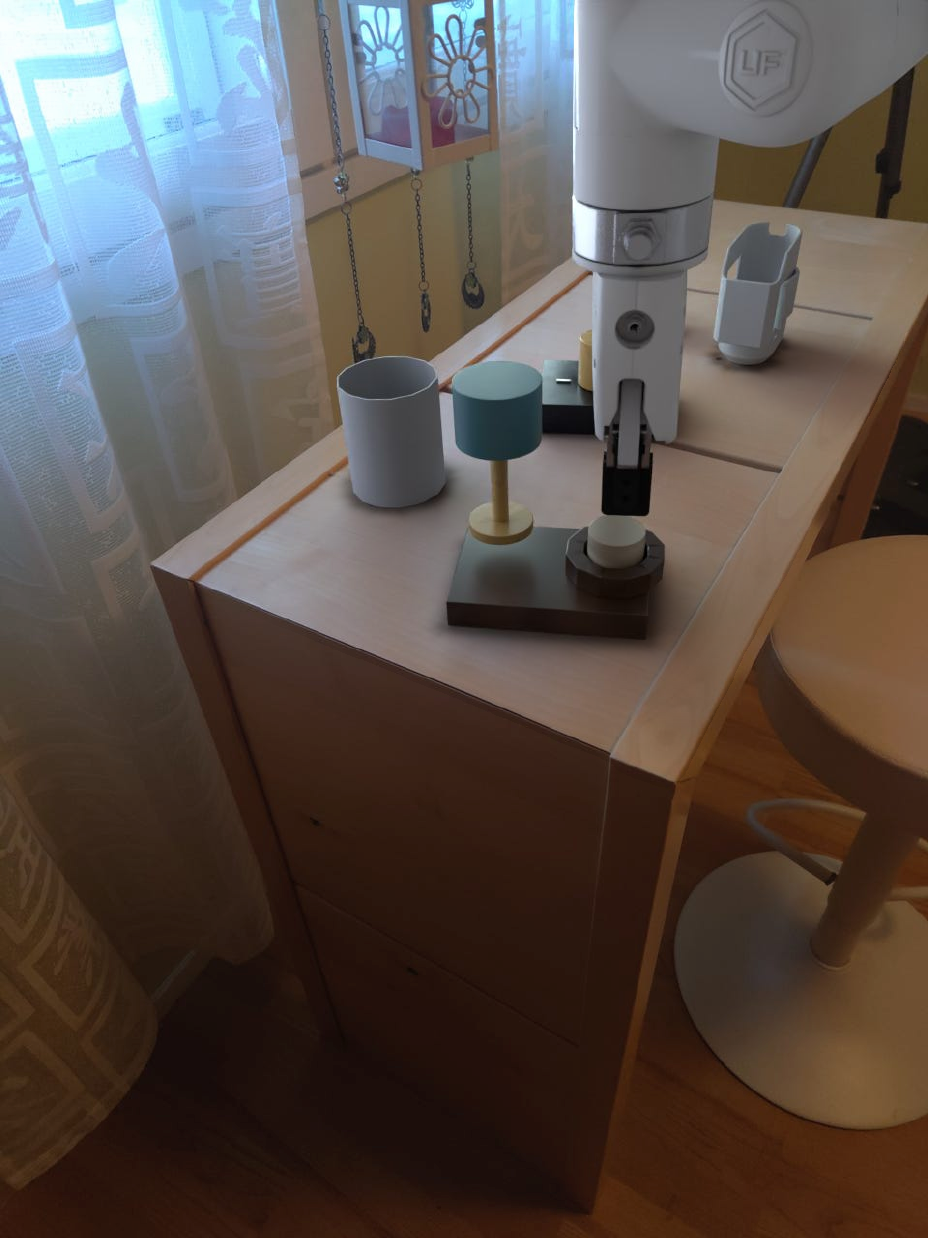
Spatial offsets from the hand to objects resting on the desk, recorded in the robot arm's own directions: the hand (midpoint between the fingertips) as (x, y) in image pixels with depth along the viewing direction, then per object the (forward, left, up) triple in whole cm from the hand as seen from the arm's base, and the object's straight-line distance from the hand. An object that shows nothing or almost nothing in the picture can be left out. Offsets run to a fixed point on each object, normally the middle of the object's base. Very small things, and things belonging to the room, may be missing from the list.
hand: (625, 508), depth 61 cm
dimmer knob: (+3, -29, -5) cm, 30 cm away
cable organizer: (-12, -43, -8) cm, 46 cm away
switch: (0, 0, -4) cm, 4 cm away
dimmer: (+3, -29, -8) cm, 30 cm away
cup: (+20, -14, -8) cm, 26 cm away
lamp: (+9, -2, -4) cm, 10 cm away
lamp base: (+5, 0, -8) cm, 9 cm away
